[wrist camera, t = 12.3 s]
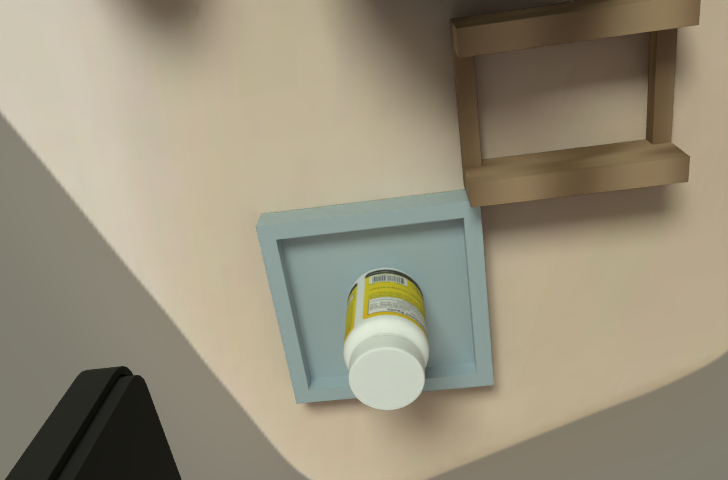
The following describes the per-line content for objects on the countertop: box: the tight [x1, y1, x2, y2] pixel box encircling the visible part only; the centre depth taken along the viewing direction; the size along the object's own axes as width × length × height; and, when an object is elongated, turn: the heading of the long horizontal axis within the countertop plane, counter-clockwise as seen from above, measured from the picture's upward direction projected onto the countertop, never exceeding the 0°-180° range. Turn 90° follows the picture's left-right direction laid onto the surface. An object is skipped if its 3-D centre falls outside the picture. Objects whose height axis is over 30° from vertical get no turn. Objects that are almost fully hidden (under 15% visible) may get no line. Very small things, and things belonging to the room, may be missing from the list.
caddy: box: [450, 0, 701, 208], centre depth 35 cm, size 11×9×4 cm
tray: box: [256, 190, 494, 404], centre depth 42 cm, size 13×13×2 cm
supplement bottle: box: [343, 267, 429, 410], centre depth 38 cm, size 5×5×8 cm
